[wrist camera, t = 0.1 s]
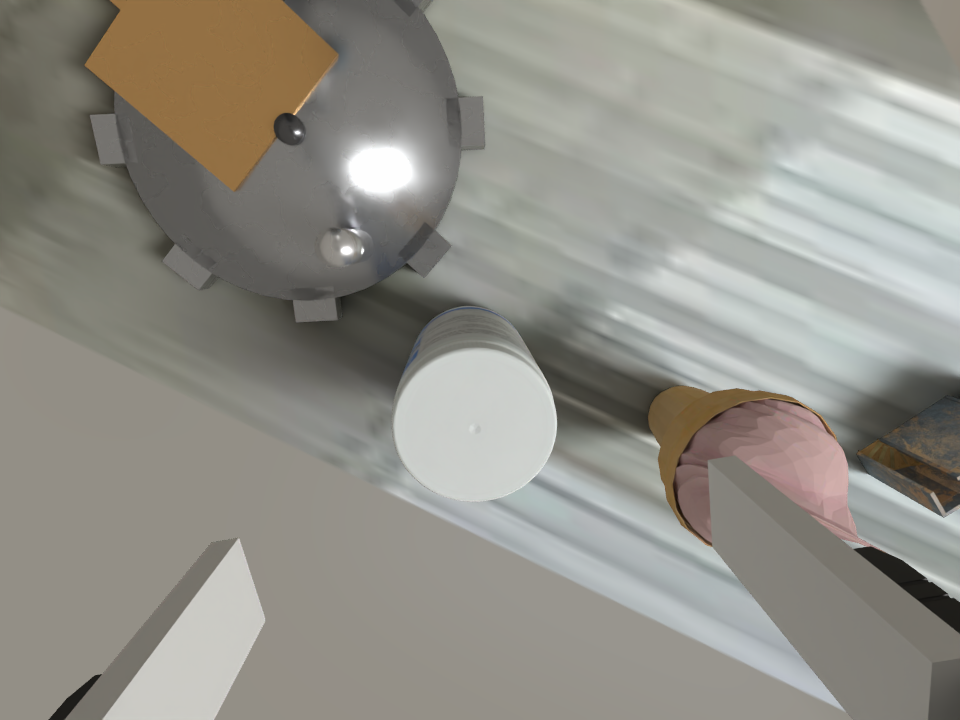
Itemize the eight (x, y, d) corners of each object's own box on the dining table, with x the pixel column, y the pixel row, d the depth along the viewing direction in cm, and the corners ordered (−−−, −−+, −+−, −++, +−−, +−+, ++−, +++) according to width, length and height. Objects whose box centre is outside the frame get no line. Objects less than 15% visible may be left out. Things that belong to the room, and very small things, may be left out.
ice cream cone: (702, 482, 45) (887, 670, 25) (592, 447, 43) (697, 616, 24) (756, 373, 42) (1007, 487, 23) (642, 332, 41) (803, 417, 22)
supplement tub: (399, 319, 40) (364, 364, 26) (512, 291, 40) (540, 321, 26) (430, 427, 42) (413, 522, 28) (537, 401, 42) (575, 484, 28)
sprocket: (48, -56, 33) (-94, -157, 24) (454, -114, 33) (451, -236, 24) (169, 341, 39) (89, 369, 31) (506, 293, 39) (517, 308, 31)
